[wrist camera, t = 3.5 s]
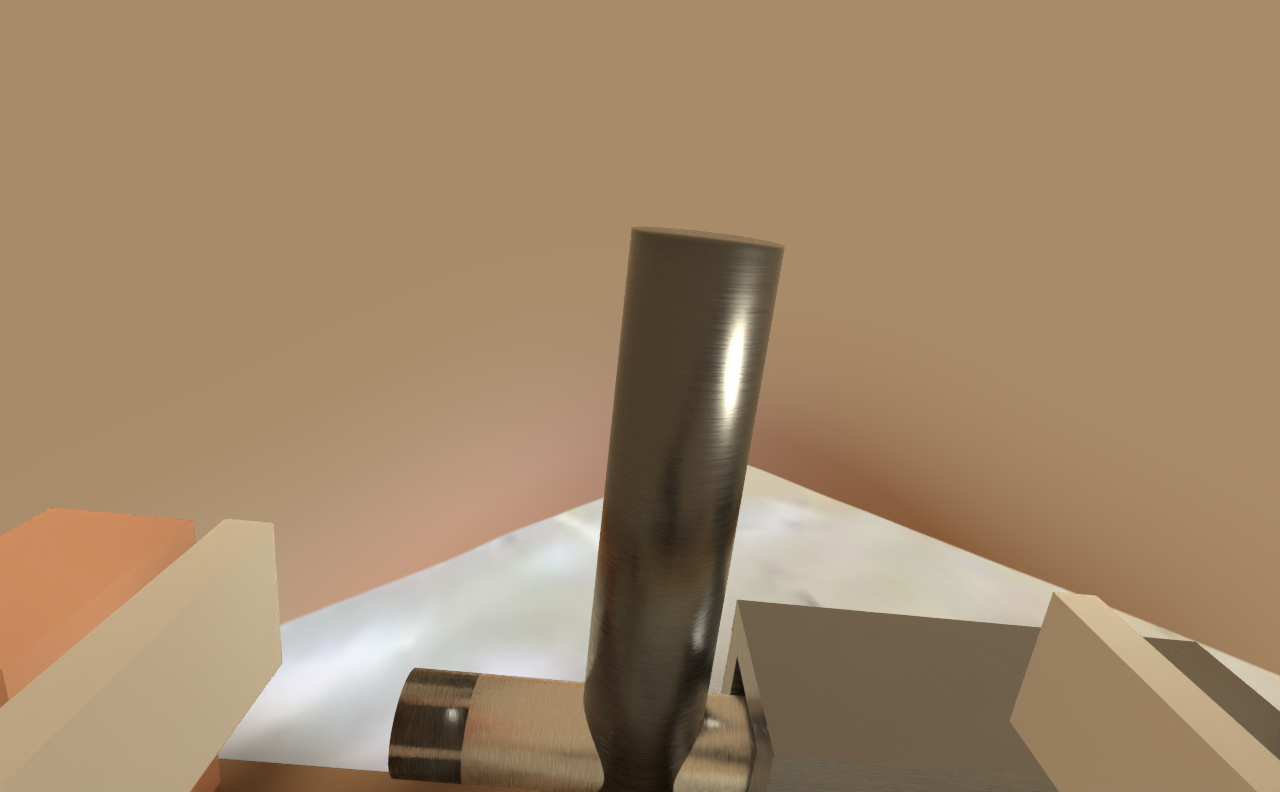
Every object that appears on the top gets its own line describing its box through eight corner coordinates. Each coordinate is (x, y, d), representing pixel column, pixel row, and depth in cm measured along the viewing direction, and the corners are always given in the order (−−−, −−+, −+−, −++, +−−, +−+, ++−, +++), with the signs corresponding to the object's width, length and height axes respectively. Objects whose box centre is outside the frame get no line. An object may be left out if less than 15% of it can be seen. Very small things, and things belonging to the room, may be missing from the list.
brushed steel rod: (1092, 850, 24) (1322, 301, 18) (1167, 960, 21) (1481, 329, 15) (422, 797, 23) (430, 200, 17) (385, 902, 20) (380, 206, 14)
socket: (220, 781, 25) (194, 520, 22) (72, 996, 19) (2, 668, 15) (97, 771, 25) (51, 507, 22) (-97, 985, 19) (-205, 651, 15)
